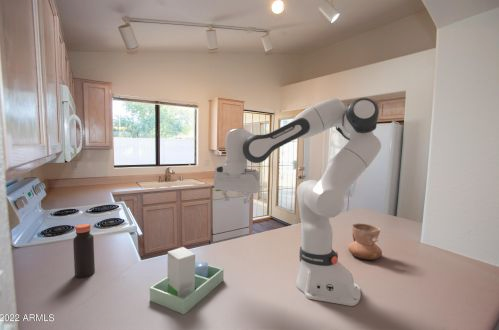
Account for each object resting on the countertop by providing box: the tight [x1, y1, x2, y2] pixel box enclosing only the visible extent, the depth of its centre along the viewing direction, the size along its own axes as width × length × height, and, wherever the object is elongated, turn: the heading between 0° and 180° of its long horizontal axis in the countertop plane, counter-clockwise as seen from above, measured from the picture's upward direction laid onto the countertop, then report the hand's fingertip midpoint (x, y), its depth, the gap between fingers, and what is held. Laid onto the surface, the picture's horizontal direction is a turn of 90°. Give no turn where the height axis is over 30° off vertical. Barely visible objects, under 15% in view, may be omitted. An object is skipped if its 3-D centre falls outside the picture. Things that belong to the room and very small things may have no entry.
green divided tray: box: [149, 260, 224, 315], centre depth 88 cm, size 15×22×4 cm
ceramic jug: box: [348, 222, 383, 261], centre depth 117 cm, size 18×14×14 cm
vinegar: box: [72, 223, 96, 279], centre depth 99 cm, size 7×7×20 cm
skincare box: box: [166, 246, 196, 299], centre depth 84 cm, size 8×7×16 cm
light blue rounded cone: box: [195, 261, 209, 278], centre depth 94 cm, size 5×5×6 cm
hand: (236, 202), depth 101 cm, fingers open, 8 cm apart
